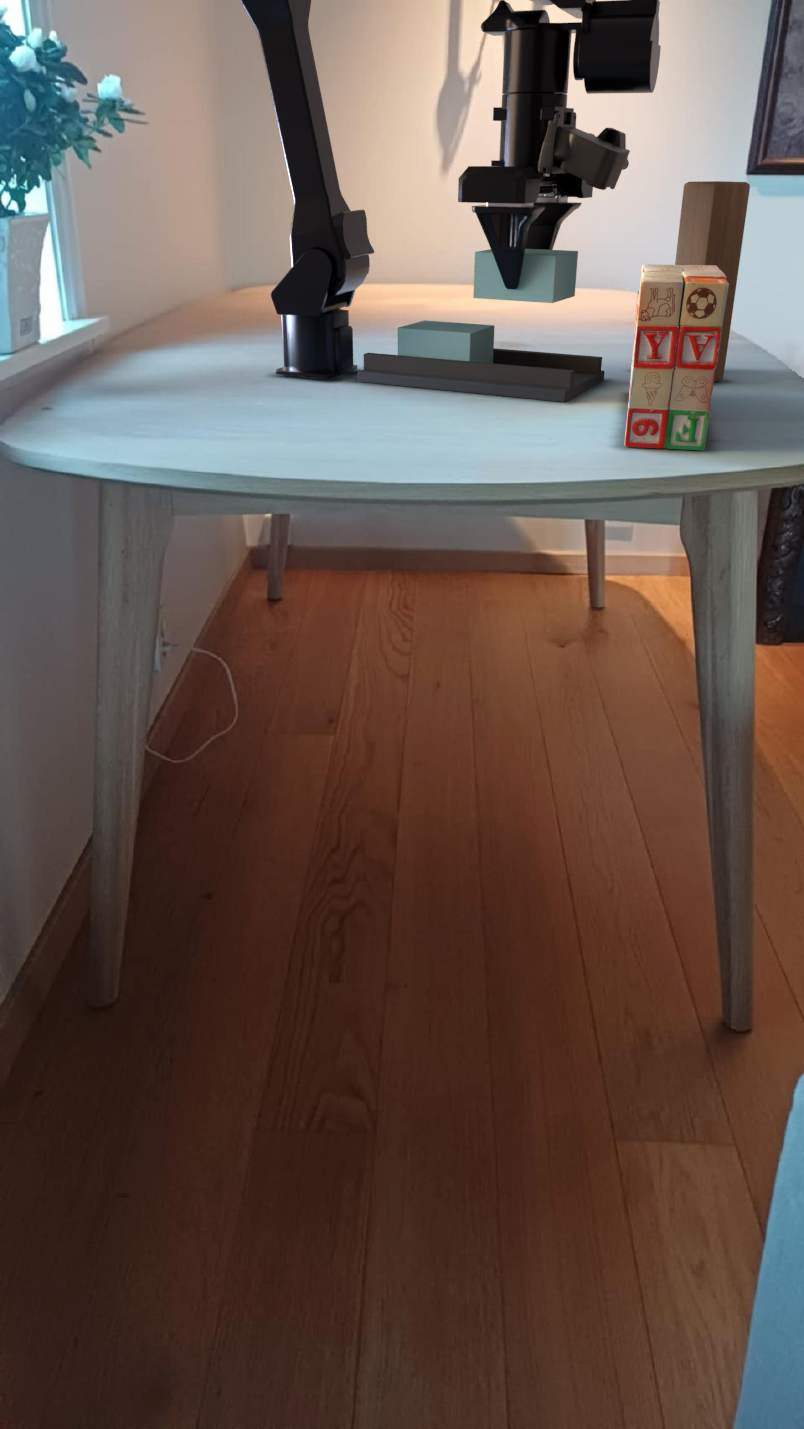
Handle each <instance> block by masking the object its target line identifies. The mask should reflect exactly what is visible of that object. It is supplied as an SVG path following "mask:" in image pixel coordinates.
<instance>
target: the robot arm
mask: <svg viewBox="0 0 804 1429" xmlns="http://www.w3.org/2000/svg"><path fill="white" fill-rule="evenodd" d="M239 1H240V3H241V5H242V7H243V10H245V12H246V14H247V16H248V18H249V19H250V21H251V23H252V24H253V25H252V26H254V29H255V31H256V32H257V35H258V39H259V43H260V48H261V53H262V57H263V61H264V66H265V71H266V76H267V79H268V80H267V81H268V85H269V90H270V95H271V100H272V104H273V108H274V113H275V118H276V123H277V127H278V132H279V137H280V141H281V142H280V143H281V145H282V146H281V147H282V150H283V156H284V160H285V164H286V170H287V174H288V179H289V184H290V188H291V193H292V198H293V210H292V218H291V219H292V220H291V224H290V230H289V231H290V232H289V246H290V258H291V260H290V261H291V268H290V269H288V271H287V273H285V275H284V276H283V277H282V278H281V279H280V281H279V282H278V283H277V284H276V285H275V287H273V289H272V290H271V291H270V293H269V294H270V299H271V302H272V303H273V306H274V309H275V312H276V315H280V319H281V336H282V337H281V338H282V339H281V340H282V352H283V353H282V357H283V358H282V359H283V366H282V367H279V368H276V369H275V375H279V376H280V375H281V376H290V377H299V378H300V377H301V378H310V379H319V380H330V379H333V378H337V377H340V376H343V375H346V374H348V373H352V372H355V371H358V364H354V329H353V327H352V326H351V325H350V317H349V316H350V315H349V314H350V313H349V311H350V310H348V309H343V308H348V307H351V305H352V302H353V300H354V296H355V292H356V290H357V289H358V288H359V287H360V286H362V285H363V283H364V281H365V279H367V278H366V277H367V276H368V274H369V272H370V266H371V262H370V255H373V254H374V253H375V249H374V247H373V246H372V244H371V242H370V238H369V234H368V218H367V214H366V210H365V209H355V210H351V209H350V207H349V205H348V204H347V202H346V200H345V198H344V197H343V195H342V194H343V193H342V191H341V187H340V183H339V178H338V173H337V172H338V171H337V167H336V162H335V158H334V153H333V146H332V143H331V138H330V137H331V136H330V132H329V127H328V123H327V116H326V110H325V106H324V101H323V97H322V96H323V95H322V90H321V86H320V81H319V76H318V72H317V71H318V70H317V67H316V62H315V57H314V51H313V45H312V41H311V36H310V30H309V29H310V28H309V20H310V12H311V6H312V5H311V4H312V0H239ZM529 1H530V2H532V3H534V4H536V5H540V6H553V5H555V7H557V8H558V9H560V10H561V11H563V12H565V13H567V14H568V15H570V16H572V17H573V18H575V19H578V20H580V19H581V22H580V21H578V22H574V21H573V22H551V21H550V16H549V13H548V11H547V10H545V9H533V10H532V9H530V10H514V8H512V6H511V4H510V3H509V2H508V1H505V0H499V2H498V3H497V5H496V7H495V9H493V11H492V13H491V14H490V15H489V16H487V17H486V19H485V20H484V21H483V22H481V24H480V30H481V32H482V33H485V34H487V35H490V36H495V37H499V36H500V37H501V36H502V37H503V36H504V43H503V45H504V46H503V62H502V63H503V66H502V88H501V89H502V90H501V91H502V92H501V93H502V95H501V107H500V106H499V107H498V106H497V107H495V106H494V107H493V108H492V110H493V111H492V122H500V135H499V136H500V137H499V138H500V139H499V157H498V158H499V159H498V160H495V159H493V160H490V162H491V163H490V164H491V165H477V166H476V165H469V166H467V167H466V169H465V170H464V171H463V172H462V174H461V175H460V176H459V177H458V181H457V182H458V186H457V188H458V190H457V195H458V196H457V202H458V203H468V204H469V203H470V204H471V203H472V204H474V203H476V204H477V205H472V206H471V211H472V213H474V214H475V215H476V218H477V220H478V222H479V224H480V226H481V229H482V232H483V233H484V236H485V238H486V240H487V243H488V245H489V249H491V250H492V253H493V256H494V258H495V261H496V264H497V266H498V269H499V272H500V274H501V277H502V280H503V282H504V285H505V287H506V289H517V288H518V285H519V280H520V276H521V271H522V265H523V259H524V253H525V249H543V250H554V246H555V244H556V241H557V238H558V235H559V231H560V229H561V226H562V224H563V222H564V221H565V220H566V219H567V218H568V217H569V216H570V215H571V214H572V213H573V212H575V211H576V210H578V209H579V208H580V207H581V206H582V202H574V201H573V202H571V201H569V198H577V199H588V198H589V199H590V198H593V193H594V192H593V190H594V188H595V189H597V190H601V191H605V190H606V189H607V188H610V189H611V190H614V189H615V188H616V185H617V183H618V181H619V178H620V176H621V174H622V171H624V170H626V169H627V168H628V167H629V165H630V163H629V154H630V152H631V151H630V149H628V148H627V145H626V143H627V142H626V141H627V138H626V135H627V134H626V133H625V132H623V131H620V130H619V129H616V128H614V127H605V128H604V129H603V130H602V131H601V132H599V134H598V135H597V136H596V135H595V134H593V133H592V132H590V133H589V132H586V131H583V130H581V129H579V128H577V113H576V112H575V108H573V107H567V106H568V93H569V92H568V91H569V77H570V64H571V63H570V62H571V49H572V48H571V47H572V34H575V37H574V44H573V53H572V54H573V56H572V70H573V73H572V74H573V78H574V80H575V81H583V83H584V84H583V85H584V90H585V92H586V94H587V95H588V94H591V95H593V94H594V95H595V94H653V92H654V91H655V88H656V86H657V85H656V84H657V80H658V73H659V66H660V60H661V49H662V47H661V44H660V43H659V42H660V19H659V18H660V17H659V16H660V15H659V14H660V6H661V0H529ZM478 204H479V205H478Z"/></svg>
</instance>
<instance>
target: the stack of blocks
mask: <svg viewBox="0 0 804 1429" xmlns="http://www.w3.org/2000/svg"><path fill="white" fill-rule="evenodd" d="M639 280H640V281H639V290H638V291H637V296H636V307H635V308H636V309H635V316H634V336H633V347H632V356H631V363H630V364H631V366H630V380H629V392H628V403H627V413H626V421H625V431H624V432H625V434H624V443H623V444H624V447H625V448H637V449H659V450H661V449H666V450H683V451H705V448H706V442H707V436H708V435H707V434H708V429H709V423H710V418H711V402H712V395H713V390H714V384H715V383H714V375H715V369H716V368H717V363H718V355H719V348H720V342H721V334H722V324H723V318H724V312H725V306H726V300H727V294H728V287H729V283H728V282H727V280H726V276H725V274H724V273H723V272H722V271H721V270H719V268H718V267H717V266H716V265H675V264H651V263H649V264H648V263H647V264H646V263H643V264H642V265H641V270H640V279H639Z"/></svg>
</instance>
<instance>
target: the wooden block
mask: <svg viewBox="0 0 804 1429" xmlns="http://www.w3.org/2000/svg"><path fill="white" fill-rule="evenodd" d="M750 190H751V185H750V183H748V182H747V181H725V180H724V181H722V180H718V181H717V180H716V181H715V180H713V181H711V180H710V181H688V182H685V183H684V185H683V190H682V198H681V199H682V200H681V208H680V216H679V227H678V235H677V243H676V244H677V245H676V251H675V252H676V254H675V260H674V265H716V266H717V267H718V268H719V270H721V271H722V272H723V273H724V274H725V276H726V280H727V282H728V283H729V287H728V294H727V300H726V306H725V312H724V318H723V324H722V334H721V342H720V348H719V355H718V363H717V368H716V369H715V375H714V382H720V381H723V379H724V376H725V369H726V363H727V356H728V355H727V354H728V348H729V340H730V335H731V334H730V332H731V327H732V326H731V325H732V319H733V313H734V305H735V297H736V290H737V282H738V277H739V276H738V275H739V269H740V261H741V253H742V248H743V240H744V233H745V232H744V231H745V226H746V220H747V211H748V204H749V197H750Z"/></svg>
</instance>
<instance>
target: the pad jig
mask: <svg viewBox="0 0 804 1429" xmlns="http://www.w3.org/2000/svg"><path fill="white" fill-rule="evenodd" d="M602 365H603V356H594V355H585V354H584V355H582V354H571V353H556V352H545V351H531V350H519V349H506V348H496V347H495V325H494V324H483V323H482V324H481V323H480V324H479V323H468V322H467V323H466V322H451V321H438V320H421V321H417V322H414V323H413V322H412V323H409V324H406V325H403V326H399V327H397V354H389V353H377V352H376V353H375V352H365V353H363V369H361V370H357V382H358V383H369V384H379V385H389V386H390V385H391V386H399V387H408V388H409V387H410V388H417V389H419V388H420V389H429V390H437V391H438V390H439V391H449V392H457V393H470V394H478V395H489V396H497V397H507V398H508V397H509V398H517V399H530V400H540V401H547V402H558V403H565V402H567V401H569V400H570V399H573V398H574V397H576V396H578V395H580V394H582V393H584V392H586V391H587V390H589V389H591V388H593V387H594V386H597V385H598V384H601V383H602V382H604V381H605V375H606V374H605V373H606V372H605V371H606V370H602Z"/></svg>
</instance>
